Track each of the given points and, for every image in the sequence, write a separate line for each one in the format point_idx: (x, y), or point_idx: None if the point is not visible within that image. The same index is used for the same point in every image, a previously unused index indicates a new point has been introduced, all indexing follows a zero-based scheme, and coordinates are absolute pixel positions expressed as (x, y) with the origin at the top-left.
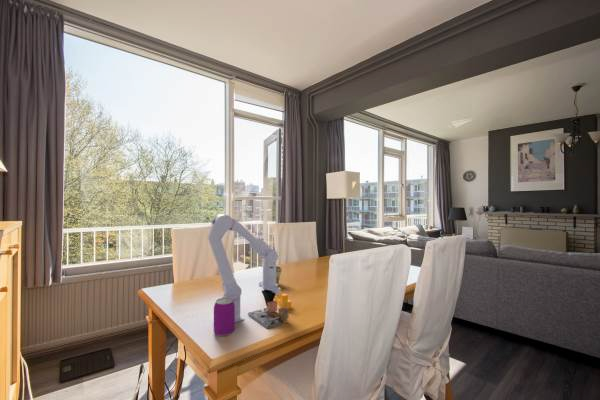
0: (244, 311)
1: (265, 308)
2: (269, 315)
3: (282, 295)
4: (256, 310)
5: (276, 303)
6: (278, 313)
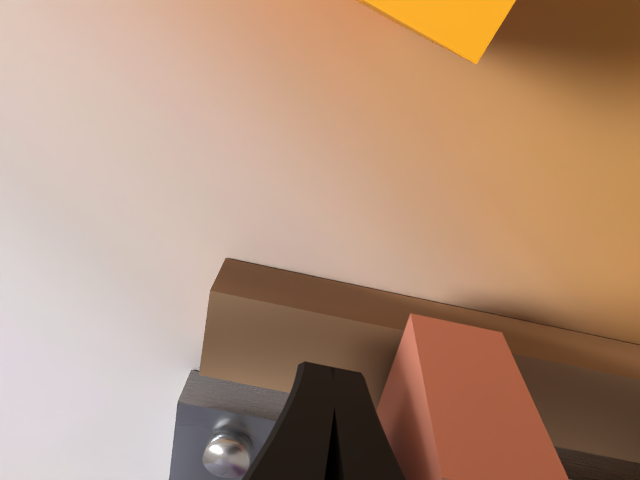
0: (23, 465)
1: (226, 359)
2: None
3: (443, 29)
4: (173, 457)
5: (552, 470)
6: (589, 375)
